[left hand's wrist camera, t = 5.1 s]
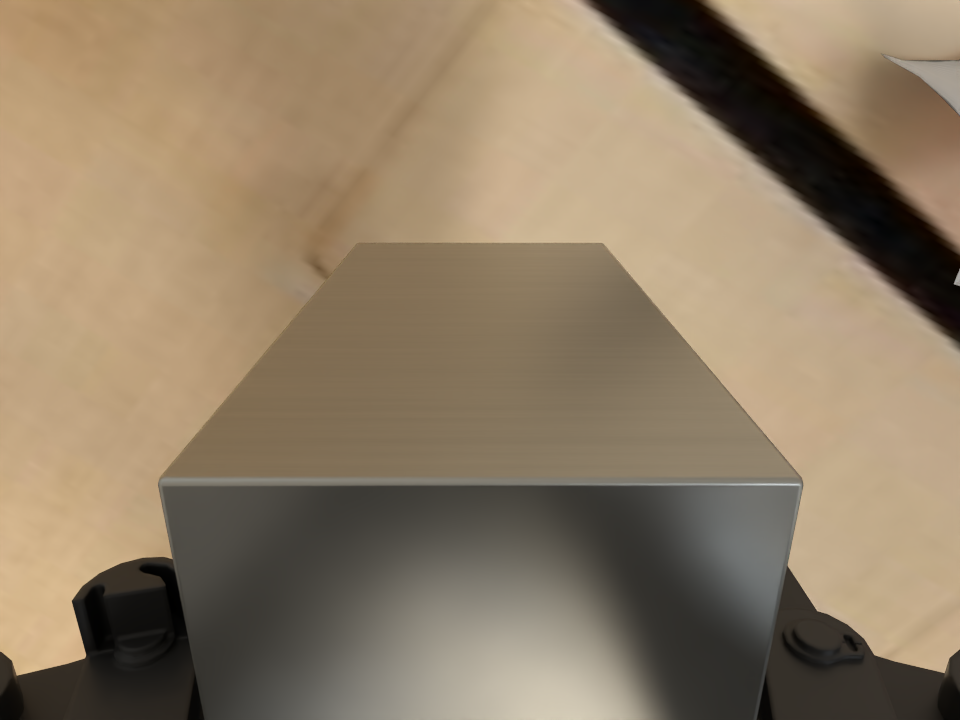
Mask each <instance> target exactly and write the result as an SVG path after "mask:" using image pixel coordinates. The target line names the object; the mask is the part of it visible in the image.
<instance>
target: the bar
mask: <svg viewBox="0 0 960 720" xmlns="http://www.w3.org/2000/svg"><path fill="white" fill-rule="evenodd" d="M158 487H159V492H160V497H161V502H162V507H163V512H164V517H165V522H166V527H167V532H168V537H169V542H170V547H171V553H172V558H173V563H174V568H175V573H176V578H177V583H178V588H179V593H180V598H181V603H182V608H183V613H184V618H185V623H186V628H187V633H188V638H189V643H190V649H191V654H192V659H193V664H194V669H195V674H196V679H197V684H198V689H199V694H200V699H201V704H202V709H203V714H204V719H205V720H757V715H758V710H759V705H760V700H761V695H762V690H763V685H764V680H765V675H766V670H767V665H768V660H769V655H770V650H771V645H772V640H773V635H774V629H775V624H776V619H777V614H778V609H779V604H780V599H781V594H782V589H783V584H784V579H785V574H786V569H787V564H788V559H789V554H790V549H791V544H792V539H793V534H794V529H795V524H796V519H797V514H798V509H799V504H800V499H801V494H802V489H803V481H802V478H801V476H800V475H799V474H798V473H797V472H796V471H795V469H794V468H793V467H792V466H791V465H790V463H789V462H788V461H787V460H786V459H785V458H784V456H783V455H782V454H781V453H780V452H779V450H778V449H777V448H776V447H775V446H774V445H773V443H772V442H771V441H770V440H769V439H768V438H767V436H766V435H765V434H764V433H763V432H762V430H761V429H760V428H759V427H758V426H757V425H756V423H755V422H754V421H753V420H752V419H751V417H750V416H749V415H748V414H747V413H746V412H745V410H744V409H743V408H742V407H741V406H740V404H739V403H738V402H737V401H736V400H735V399H734V397H733V396H732V395H731V394H730V393H729V391H728V390H727V389H726V388H725V387H724V386H723V384H722V383H721V382H720V381H719V380H718V378H717V377H716V376H715V375H714V374H713V373H712V371H711V370H710V369H709V368H708V367H707V365H706V364H705V363H704V362H703V361H702V360H701V358H700V357H699V356H698V355H697V354H696V352H695V351H694V350H693V349H692V348H691V347H690V345H689V344H688V343H687V342H686V341H685V339H684V338H683V337H682V336H681V335H680V334H679V332H678V331H677V330H676V329H675V328H674V326H673V325H672V324H671V323H670V322H669V321H668V319H667V318H666V317H665V316H664V315H663V313H662V312H661V311H660V310H659V309H658V308H657V306H656V305H655V304H654V303H653V302H652V300H651V299H650V298H649V297H648V296H647V295H646V293H645V292H644V291H643V290H642V289H641V288H640V286H639V285H638V284H637V283H636V282H635V280H634V279H633V278H632V277H631V276H630V275H629V273H628V272H627V271H626V270H625V269H624V267H623V266H622V265H621V264H620V263H619V262H618V260H617V259H616V258H615V257H614V256H613V254H612V253H611V252H610V251H609V250H608V249H607V247H606V246H605V245H604V244H603V243H358V244H356V245H355V247H354V248H353V249H352V250H351V251H350V253H349V254H348V255H347V256H346V257H345V258H344V260H343V261H342V262H341V263H340V264H339V266H338V267H337V268H336V269H335V270H334V272H333V273H332V274H331V275H330V276H329V277H328V279H327V280H326V281H325V282H324V283H323V285H322V286H321V287H320V288H319V289H318V291H317V292H316V293H315V294H314V295H313V296H312V298H311V299H310V300H309V301H308V302H307V304H306V305H305V306H304V307H303V308H302V309H301V311H300V312H299V313H298V314H297V315H296V317H295V318H294V319H293V320H292V321H291V323H290V324H289V325H288V326H287V327H286V328H285V330H284V331H283V332H282V333H281V334H280V336H279V337H278V338H277V339H276V340H275V342H274V343H273V344H272V345H271V346H270V347H269V349H268V350H267V351H266V352H265V353H264V355H263V356H262V357H261V358H260V359H259V361H258V362H257V363H256V364H255V365H254V366H253V368H252V369H251V370H250V371H249V372H248V374H247V375H246V376H245V377H244V378H243V380H242V381H241V382H240V383H239V384H238V385H237V387H236V388H235V389H234V390H233V391H232V393H231V394H230V395H229V396H228V397H227V399H226V400H225V401H224V402H223V403H222V404H221V406H220V407H219V408H218V409H217V410H216V412H215V413H214V414H213V415H212V416H211V418H210V419H209V420H208V421H207V422H206V423H205V425H204V426H203V427H202V428H201V429H200V431H199V432H198V433H197V434H196V435H195V437H194V438H193V439H192V440H191V441H190V442H189V444H188V445H187V446H186V447H185V448H184V450H183V451H182V452H181V453H180V454H179V456H178V457H177V458H176V459H175V460H174V461H173V463H172V464H171V465H170V466H169V467H168V469H167V470H166V471H165V472H164V473H163V475H162V476H161V477H160V479H159V482H158Z"/></svg>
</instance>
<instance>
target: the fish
mask: <svg viewBox="0 0 960 720" xmlns="http://www.w3.org/2000/svg"><path fill="white" fill-rule="evenodd" d="M882 55H883V56H884V57H885V58H887V59H888V60H890V61H892V62H894V63H895V64H897V65H899V66H901V67H902V68H904V69H906V70H908V71H910V72H911V73H913V74H915V75H917V76H919V77H920V78H921V79H922V80H923V81H924V82H926V83H927V84H928V85H929V86H930V87H931V88H932V89H933V90H934V91H935V92H936V93H937V94H939V95H940V96H941V97H942V98H943V99H944V100H945V101H946V102H947V103H948V104H949V105H950V106H951V108H952V109H953V110H954V111H955V112H956V113H957V114H958V115H959V116H960V60H929V61H927V60H900V59H897V58H894V57H891V56H888V55H885V54H882ZM954 284H955V285H959V286H960V270H959V273H958V275H957V278H956V280H955V282H954Z"/></svg>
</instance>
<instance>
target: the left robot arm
mask: <svg viewBox="0 0 960 720" xmlns="http://www.w3.org/2000/svg"><path fill="white" fill-rule="evenodd" d="M72 604H73V607H74V611H75V615H76V618H77V622H78V626H79V629H80V633H81V637H82V640H83V644H84V648H85V652H86V658H85V659H82V660H79V661H75V662H72V663H69V664H65V665H61V666H57V667H52V668H48V669H44V670H40V671H35V672H31V673H27V674H23V675H18V676H17V675H16V672H15V669H14V666H13V663H12V661H11V660H10V659H9V658H8V657H7V656H5V655H4V654H3V653H2V652H0V720H205V719H204V714H203V709H202V704H201V699H200V694H199V689H198V684H197V679H196V674H195V669H194V664H193V659H192V654H191V649H190V643H189V638H188V633H187V628H186V623H185V618H184V613H183V608H182V603H181V598H180V593H179V588H178V583H177V578H176V573H175V568H174V563H173V559H169V558H165V557H153V558H141V559H137V560H133V561H129V562H125V563H121V564H119V565H117V566H114V567H112V568H110V569H108V570H106V571H104V572H102V573H100V574H98V575H97V576H96V577H94V578H93V579H92V580H90V581H89V582H88V583H86V584H85V585H84V586H82V588H81V589H80V590H79V592H78V593H77V595H76V596H75V597H74V599H73V600H72ZM757 720H960V650H959V651H958V652H956V653H955V654H954V655H953V656H952V657H950V659H949V662H948V665H947V668H946V671H945V673H941V672H937V671H932V670H928V669H924V668H920V667H915V666H911V665H907V664H903V663H898V662H894V661H891V660H888V659H884V658H881V657H878V656H875V655H874V654H873V652H872V651H871V649H870V648H869V646H868V645H867V643H866V641H865V640H864V638H862V637H861V636H860V635H859V634H858V633H857V632H855V631H854V630H853V629H852V628H851V627H849V626H848V625H847V624H845V623H843V622H841V621H839V620H837V619H835V618H833V617H832V616H830V615H828V614H825V613H821V612H818V611H817V610H816V609H815V607H814V606H813V604H812V603H811V601H810V600H809V598H808V597H807V595H806V594H805V592H804V591H803V589H802V587H801V586H800V584H799V583H798V581H797V580H796V578H795V577H794V575H793V574H792V572H791V571H790V569H789V568H788V566H787V569H786V574H785V579H784V584H783V589H782V594H781V599H780V604H779V609H778V614H777V619H776V624H775V629H774V635H773V640H772V645H771V650H770V655H769V660H768V665H767V670H766V675H765V680H764V685H763V690H762V695H761V700H760V705H759V710H758V715H757Z"/></svg>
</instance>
